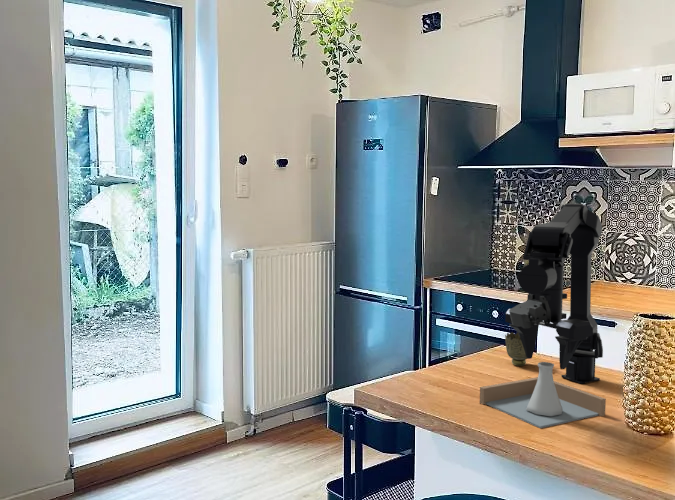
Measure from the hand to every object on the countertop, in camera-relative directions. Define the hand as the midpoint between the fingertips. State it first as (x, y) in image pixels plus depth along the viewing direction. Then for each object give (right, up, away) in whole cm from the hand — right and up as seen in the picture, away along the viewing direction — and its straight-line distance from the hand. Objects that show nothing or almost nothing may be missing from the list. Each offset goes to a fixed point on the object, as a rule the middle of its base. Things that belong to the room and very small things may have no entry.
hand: (545, 363), depth 132 cm
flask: (0, -10, +1) cm, 10 cm away
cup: (+5, -7, +39) cm, 40 cm away
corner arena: (0, -10, +3) cm, 11 cm away
